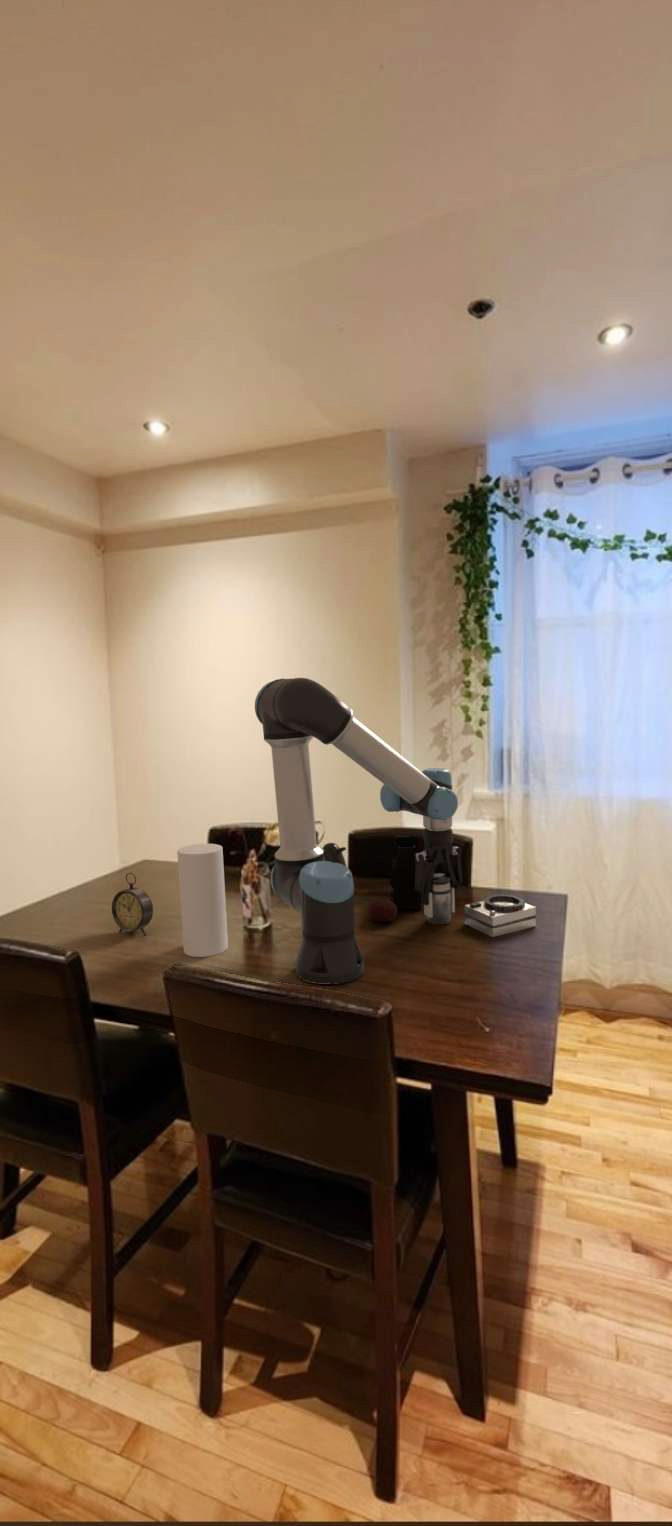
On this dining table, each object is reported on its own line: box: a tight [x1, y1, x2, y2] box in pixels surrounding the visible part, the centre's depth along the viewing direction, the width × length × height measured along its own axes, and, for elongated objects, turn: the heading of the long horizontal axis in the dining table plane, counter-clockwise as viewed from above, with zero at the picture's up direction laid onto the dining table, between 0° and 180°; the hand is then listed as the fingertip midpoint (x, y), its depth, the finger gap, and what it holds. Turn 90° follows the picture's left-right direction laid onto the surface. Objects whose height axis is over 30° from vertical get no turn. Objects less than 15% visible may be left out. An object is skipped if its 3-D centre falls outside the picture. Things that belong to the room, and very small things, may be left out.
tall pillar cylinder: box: [176, 843, 229, 958], centre depth 164 cm, size 11×11×25 cm
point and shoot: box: [463, 894, 537, 938], centre depth 173 cm, size 14×11×6 cm
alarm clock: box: [111, 872, 154, 937], centre depth 177 cm, size 11×5×16 cm, turn 64°
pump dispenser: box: [321, 842, 348, 868], centre depth 207 cm, size 10×10×15 cm
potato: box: [367, 898, 398, 923], centre depth 179 cm, size 7×8×6 cm
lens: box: [427, 872, 452, 926], centre depth 178 cm, size 6×6×12 cm
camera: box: [389, 834, 423, 910], centre depth 193 cm, size 10×14×20 cm
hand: (439, 913), depth 178 cm, fingers closed on lens, 6 cm apart
